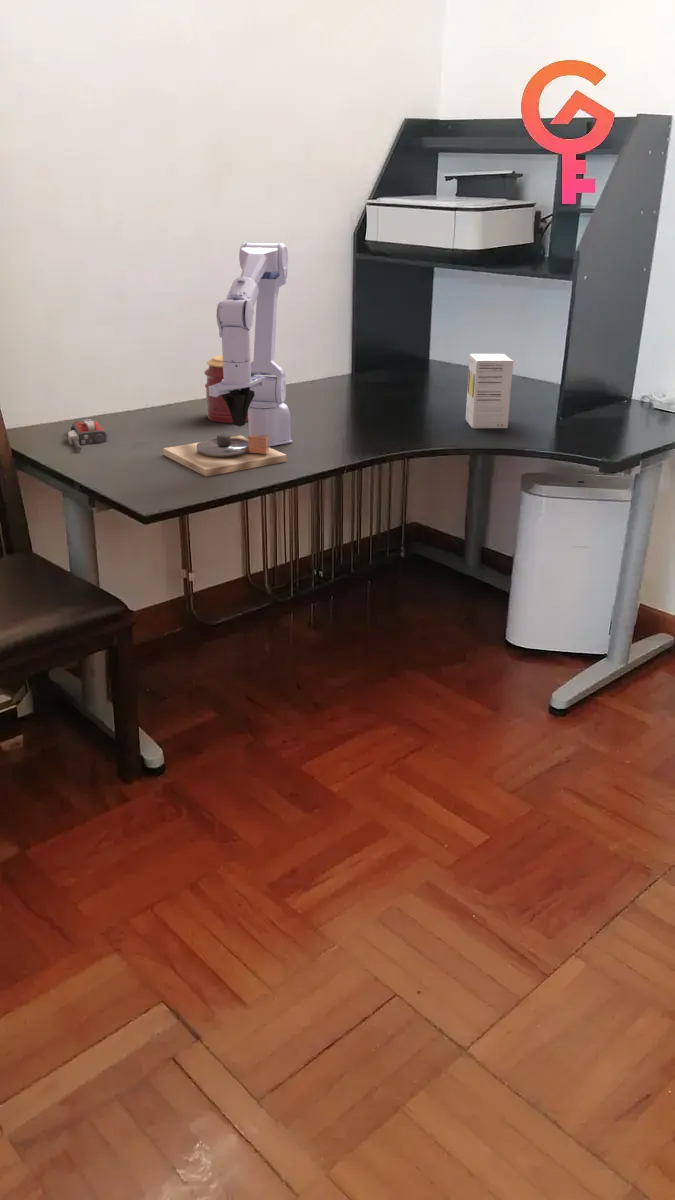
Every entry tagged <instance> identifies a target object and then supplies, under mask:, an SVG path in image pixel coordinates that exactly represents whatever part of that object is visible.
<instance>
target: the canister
mask: <svg viewBox="0 0 675 1200" xmlns="http://www.w3.org/2000/svg"><path fill="white" fill-rule="evenodd" d="M252 361H253V360H251V362H252ZM206 364H207V365H208V368H206V369H205V370H204V372H203V373H204V375H205V376H206V383H205V384H204V387H205V396H206V397H205V399H206V408H205V409H206V416H207V419H208V420H210V421H211V422H216V423H223V424H234V423H233V420H232V416H231V413H230V410H229V408H228V406H227V404H226V402H225V400H224V399H223V397H222V395H219V396H218V397H213V396H209V386H212V385H215V384H217V383H220V382H222V379H224V375H223V354H221V355H220V354H219V355H215V356H213V357H211V359H210V360H208V361H207V362H206ZM246 422H248V412H247V416H246V421H245V423H246Z"/></svg>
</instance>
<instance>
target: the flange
mask: <svg viewBox="0 0 675 1200" xmlns="http://www.w3.org/2000/svg"><path fill="white" fill-rule="evenodd" d="M247 438H248V441H246V440H243V439H237V438H231V444H230V445H218V444H217V437H216V438H211V439H206V440H202V441H200V443H199V442H197V443H198V444H197V452H198V453H200V454H203V455H206V456H213V457H230V456H238V455H242V454H246V453H248V452H251V453H267V452H268V451H269V448H270V446H269V438H268V435H252V434H251V435H250V436H249V435H248V437H247Z"/></svg>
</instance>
